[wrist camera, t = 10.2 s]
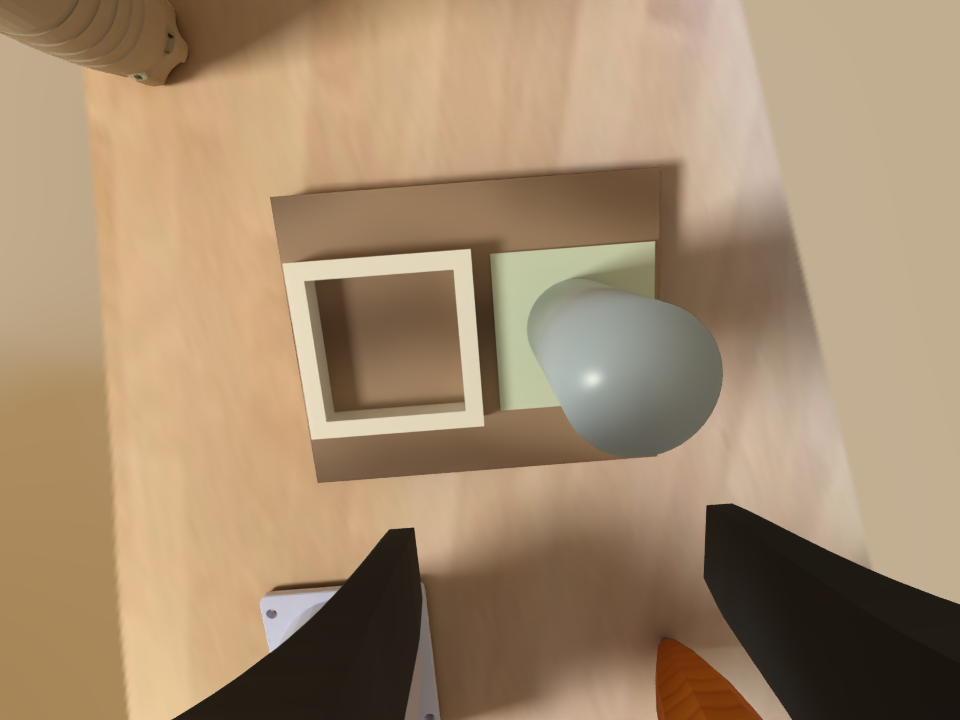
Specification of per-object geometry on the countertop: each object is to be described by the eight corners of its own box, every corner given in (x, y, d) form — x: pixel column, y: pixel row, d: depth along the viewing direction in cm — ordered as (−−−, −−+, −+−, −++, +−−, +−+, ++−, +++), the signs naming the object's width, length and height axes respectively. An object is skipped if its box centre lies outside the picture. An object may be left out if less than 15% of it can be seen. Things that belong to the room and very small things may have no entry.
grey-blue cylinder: (625, 371, 20) (719, 450, 12) (529, 379, 20) (563, 463, 12) (624, 274, 19) (725, 293, 11) (523, 282, 19) (555, 307, 11)
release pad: (651, 397, 21) (653, 398, 20) (500, 409, 21) (501, 410, 20) (653, 241, 19) (655, 241, 19) (490, 253, 19) (490, 253, 19)
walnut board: (647, 445, 22) (657, 456, 21) (325, 470, 22) (317, 482, 21) (648, 171, 20) (660, 167, 18) (281, 200, 20) (269, 197, 18)
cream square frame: (483, 416, 21) (484, 426, 19) (320, 428, 21) (311, 439, 19) (470, 249, 19) (470, 249, 18) (293, 262, 19) (282, 263, 18)
